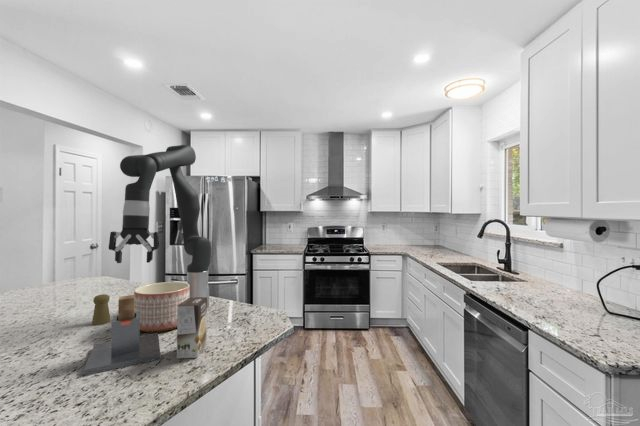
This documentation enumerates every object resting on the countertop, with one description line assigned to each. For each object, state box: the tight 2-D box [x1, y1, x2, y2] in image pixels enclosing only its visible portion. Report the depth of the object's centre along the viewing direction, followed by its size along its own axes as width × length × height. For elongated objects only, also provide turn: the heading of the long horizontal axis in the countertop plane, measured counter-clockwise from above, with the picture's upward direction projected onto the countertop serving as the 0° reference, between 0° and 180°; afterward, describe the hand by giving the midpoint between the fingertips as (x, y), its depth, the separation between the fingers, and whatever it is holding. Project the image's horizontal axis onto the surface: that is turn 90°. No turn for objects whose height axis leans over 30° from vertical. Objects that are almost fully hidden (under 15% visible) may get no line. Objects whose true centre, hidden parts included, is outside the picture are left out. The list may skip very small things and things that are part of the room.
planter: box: [133, 281, 190, 333], centre depth 113 cm, size 19×19×15 cm
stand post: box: [117, 294, 135, 320], centre depth 89 cm, size 4×4×16 cm
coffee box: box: [176, 297, 208, 359], centre depth 91 cm, size 9×6×16 cm
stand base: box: [83, 312, 161, 376], centre depth 89 cm, size 18×18×12 cm
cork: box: [91, 293, 112, 326], centre depth 115 cm, size 6×6×11 cm
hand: (133, 262), depth 96 cm, fingers open, 8 cm apart
